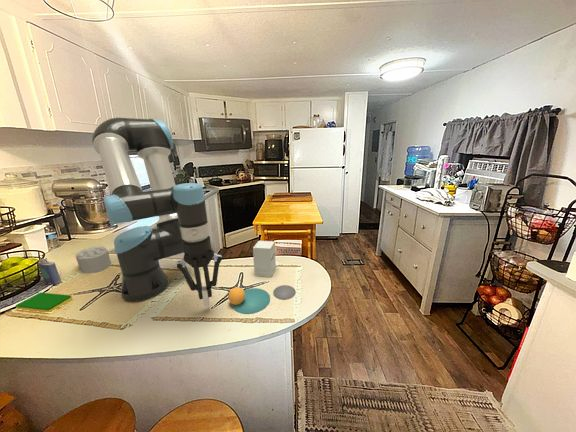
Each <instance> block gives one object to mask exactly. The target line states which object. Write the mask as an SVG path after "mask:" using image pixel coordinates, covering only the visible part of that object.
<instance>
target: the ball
mask: <svg viewBox="0 0 576 432" xmlns="http://www.w3.org/2000/svg"><path fill="white" fill-rule="evenodd" d="M244 290H245V289H243V288H242V287H239V286H238V287H237V286H236V287H233V288H232V289H230V291H229V292H228V296H227V299H228V302H230V304H231V305H232V304H234V305H238V304H240V303H242V302H243V300H244V298H245V292H244Z"/></svg>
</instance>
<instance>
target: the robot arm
mask: <svg viewBox="0 0 576 432" xmlns="http://www.w3.org/2000/svg"><path fill="white" fill-rule="evenodd" d="M91 139H92V140H91V141H92V146H93V149H94V151H95V152H96V153H97V154H98V155H99V156H100V160H101V164H102V167H103V171H104V174H105V177H106V182H107V185H108V189H109V192H110V195H108V196H107V195H106V196H105V197H103V204H104V208H105V212H106V214H107V219H108V221H109V222H110V223H111V224H123V223H130V222H135V221H140V220H144V219H149V218H156V217H158V220H157V222H156V223H155V224H156V228H152V227H151V226H150V225H141V226H136V227H133V228H129V229H127V230H125V231H122V232H121V233H119V234H117V236H116V237H115V238H114V239H113V245H114V253H115V254H116V256H117V257H116V258H117V260H118V263H119V268H120V272H121V275H122V280H121V286H120V294H121V298H122V300H124V301H125V302H131V303H134V302H136V303H137V302H141V301H145V300H149V299H151V298H155V297H156V296H158V295H159V294H161V293H162V292H164V291H165V290H166V289H168V286H169V284H170V282H169V281H170V280H169V277H168V276H167V274H166V272H165V271H164V269H163V268H162V266H161V265H160V260H163V259H167V258H170V257H174V256H177V255H181V254H183V258H182V259H181V260H178V261H177V262H176V266H175V267H176V268H177V269H178V270H179V271H180V272H181V274H182V275H183V277H184V279H185V282H186V284H187V286H188V287H189V289H190V291H191V292H193V291H197V294H198V299H199V300H202V301H203V306H204V310H207V309H210V308H211V305H210V304H211V303H210V298H212V296H213V292H212V291H213V290H212V287H216V286H217V285H218V284H217V283H218V274H219V268H220V264H221V262H222V260H223V256H222V254H221V253H215V251H214V250H213V248H212V241H211V236H209V235H210V229H209V228H210V227H209V221H208V214H207V213H208V212H207V205H206V201H205V199H206V195H205V193H204V188H203V186H202V184H201V183H198V182H197V183H196V182H187V183H186V182H185V183H179V184H176V182H175V179H174V175H173V170H172V168H171V164H170V160H169V156H170V155H171V153H172V152H171V150H173V148H174V141H173V136H172V133H171V130H170V128H169V126H168V125H167V123H166V122H165V121H164V120H161V119H155V118H134V117H132V118H130V117H129V118H127V117H113V118H109V119H106V120H105V121H102V122H101V123H100V124H99V125H98V126H97V127H96V128H95V130H94V131H93V134H92V138H91ZM129 152H136V154H137V156H138V157H139V158H140V159H142V160H143V162H144V166H145V170H146V173H147V178H148V181H149V185H150V189H151V190H146V191H143V189H142V186H141V183H140V180H139V178H138V176H137V172H136V170H135V168H134V165H133V163H132V160H131V158H130V155H129ZM212 259H213V261H214V264H213V273H212V278H211V277H210V272H209V264H210V263H211V261H212ZM187 264H188V265H189V266H190V267H191V268H193V272H194V277H195V280H194V279H193V277H192V275H191V272H190V271H189V268H188V267H187ZM200 268H202V270H203V275H204V281H205V285H203V283H202V277H201V272H200Z"/></svg>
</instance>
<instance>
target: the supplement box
mask: <svg viewBox="0 0 576 432" xmlns="http://www.w3.org/2000/svg"><path fill="white" fill-rule="evenodd" d="M275 245H276V243H275V241H273V240H258V241H257V242H256V243H255V245H254V246H253V247H252V257H253V268H254V269H253V270H254V276H256V277H264V278H265V277H267V278H272V277H273V274H274V272H275V270H276V268H277V266H276V265H277V263H276V262H277V261H276V246H275Z"/></svg>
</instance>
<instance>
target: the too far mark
mask: <svg viewBox="0 0 576 432" xmlns="http://www.w3.org/2000/svg"><path fill="white" fill-rule="evenodd" d="M272 294H273V297H275V298H276V299H278V300H283V301H284V300H285V301H286V300H290V299H292V298H293V297H294V296H295V295H296V289H295V288H294V287H293V286H292V285H291V286H290V285H286V284H285V285H283V284H282V285H279V286H276V287H275V288H274V289H273V292H272Z"/></svg>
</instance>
